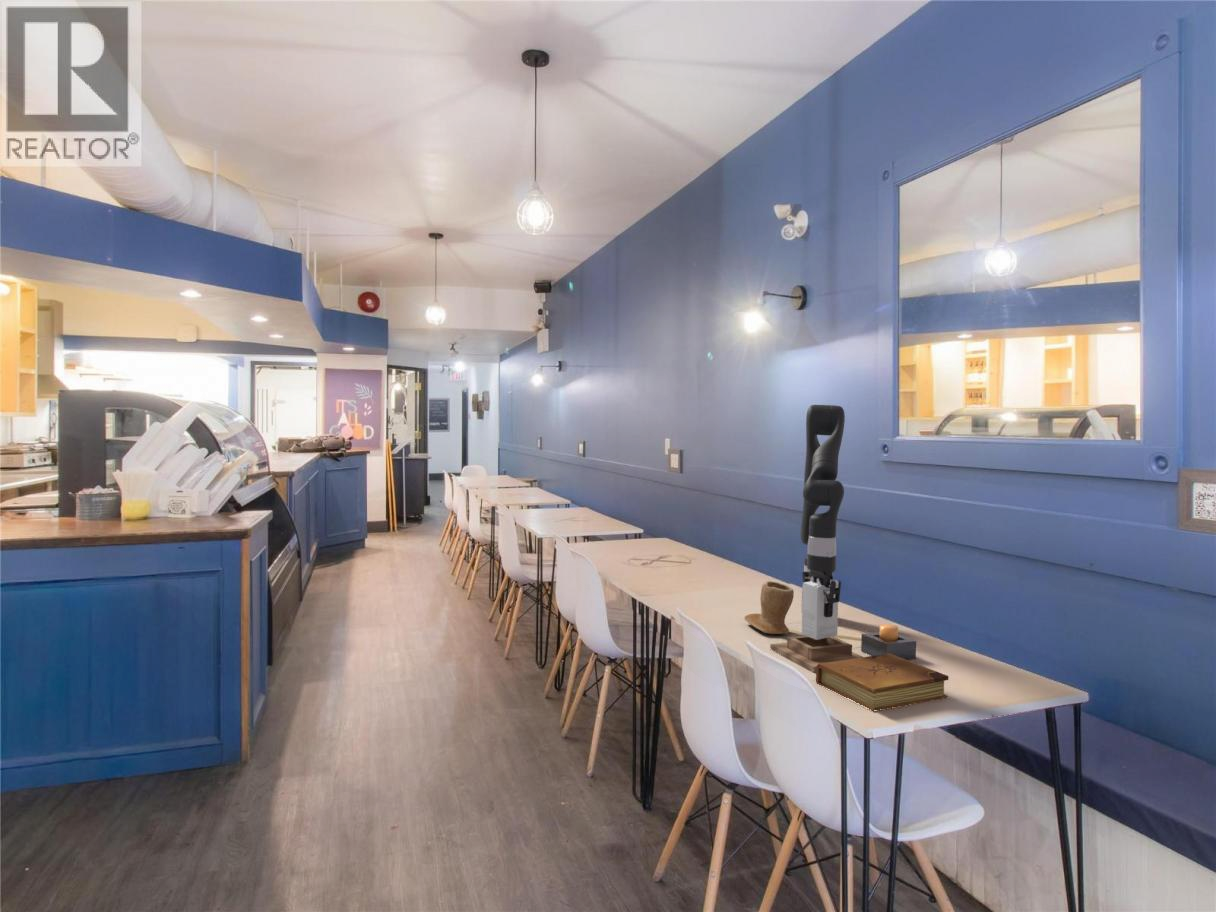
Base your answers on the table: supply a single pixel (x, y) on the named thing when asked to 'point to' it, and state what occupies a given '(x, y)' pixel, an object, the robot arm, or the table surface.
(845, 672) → the diary
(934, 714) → the table surface
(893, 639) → the button
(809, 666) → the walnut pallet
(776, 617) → the brown hat
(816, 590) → the skincare box
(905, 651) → the button housing
